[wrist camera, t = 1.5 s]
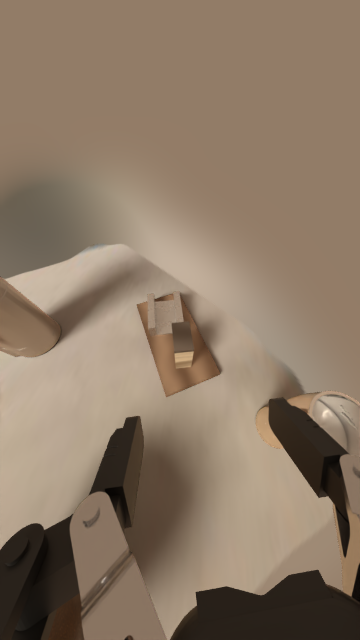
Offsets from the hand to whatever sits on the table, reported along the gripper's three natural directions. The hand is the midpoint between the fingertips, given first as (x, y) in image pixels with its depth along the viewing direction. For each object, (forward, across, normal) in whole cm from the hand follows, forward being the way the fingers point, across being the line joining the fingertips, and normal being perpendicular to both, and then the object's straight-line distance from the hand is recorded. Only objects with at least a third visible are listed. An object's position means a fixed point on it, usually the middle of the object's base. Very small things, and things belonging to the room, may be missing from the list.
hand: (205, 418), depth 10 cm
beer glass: (+14, -14, +17) cm, 27 cm away
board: (+27, +1, +4) cm, 28 cm away
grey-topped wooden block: (+23, 0, +6) cm, 24 cm away
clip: (+30, +3, 0) cm, 30 cm away
